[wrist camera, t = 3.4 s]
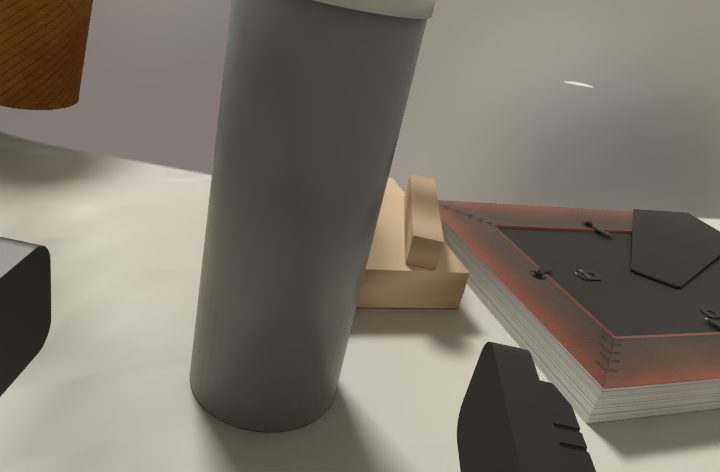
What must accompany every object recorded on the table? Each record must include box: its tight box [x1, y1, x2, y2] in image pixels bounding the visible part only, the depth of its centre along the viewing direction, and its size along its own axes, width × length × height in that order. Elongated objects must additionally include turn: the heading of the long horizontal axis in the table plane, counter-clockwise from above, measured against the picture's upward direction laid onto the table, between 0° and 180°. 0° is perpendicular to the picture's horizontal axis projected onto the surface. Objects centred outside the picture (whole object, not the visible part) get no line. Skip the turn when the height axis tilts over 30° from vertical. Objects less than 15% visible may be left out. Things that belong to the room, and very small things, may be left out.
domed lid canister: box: [190, 0, 436, 432], centre depth 19 cm, size 5×5×14 cm
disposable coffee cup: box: [0, 0, 93, 110], centre depth 40 cm, size 10×10×12 cm
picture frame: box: [438, 200, 720, 424], centre depth 34 cm, size 16×2×22 cm
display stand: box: [357, 174, 470, 309], centre depth 31 cm, size 12×11×4 cm
